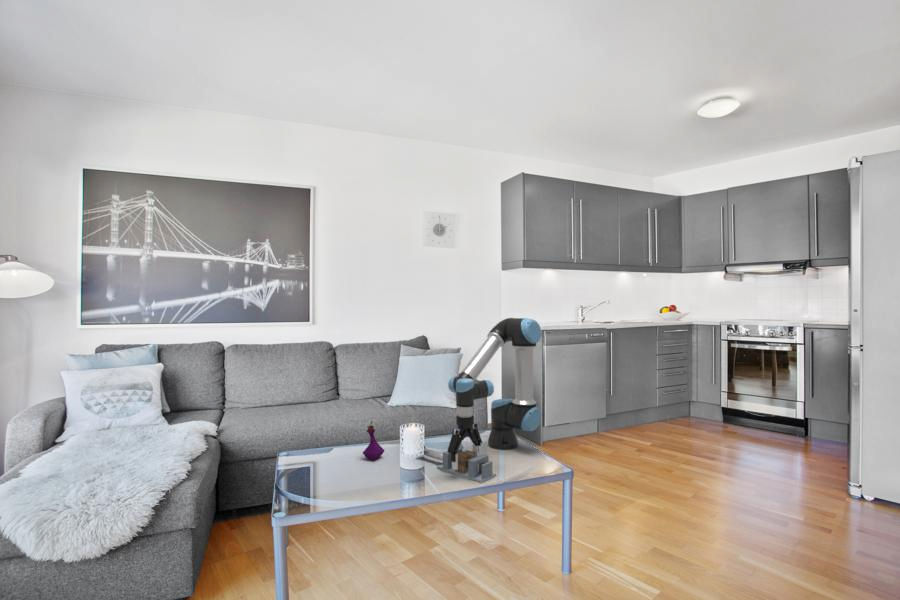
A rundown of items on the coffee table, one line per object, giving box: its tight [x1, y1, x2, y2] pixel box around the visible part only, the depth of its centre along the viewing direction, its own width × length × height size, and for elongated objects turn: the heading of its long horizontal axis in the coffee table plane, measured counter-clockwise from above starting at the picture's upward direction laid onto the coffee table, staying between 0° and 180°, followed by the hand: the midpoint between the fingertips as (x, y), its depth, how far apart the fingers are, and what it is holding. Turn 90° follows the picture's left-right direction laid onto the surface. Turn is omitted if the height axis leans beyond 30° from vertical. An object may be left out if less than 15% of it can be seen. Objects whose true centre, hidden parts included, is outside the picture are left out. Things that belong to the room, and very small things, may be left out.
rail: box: [436, 447, 497, 484], centre depth 202 cm, size 10×25×8 cm, turn 48°
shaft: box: [423, 445, 443, 462], centre depth 213 cm, size 5×23×5 cm, turn 48°
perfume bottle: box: [362, 419, 385, 461], centre depth 220 cm, size 8×8×18 cm
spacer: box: [455, 449, 476, 474], centre depth 202 cm, size 8×5×7 cm, turn 138°
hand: (465, 464), depth 202 cm, fingers open, 13 cm apart
